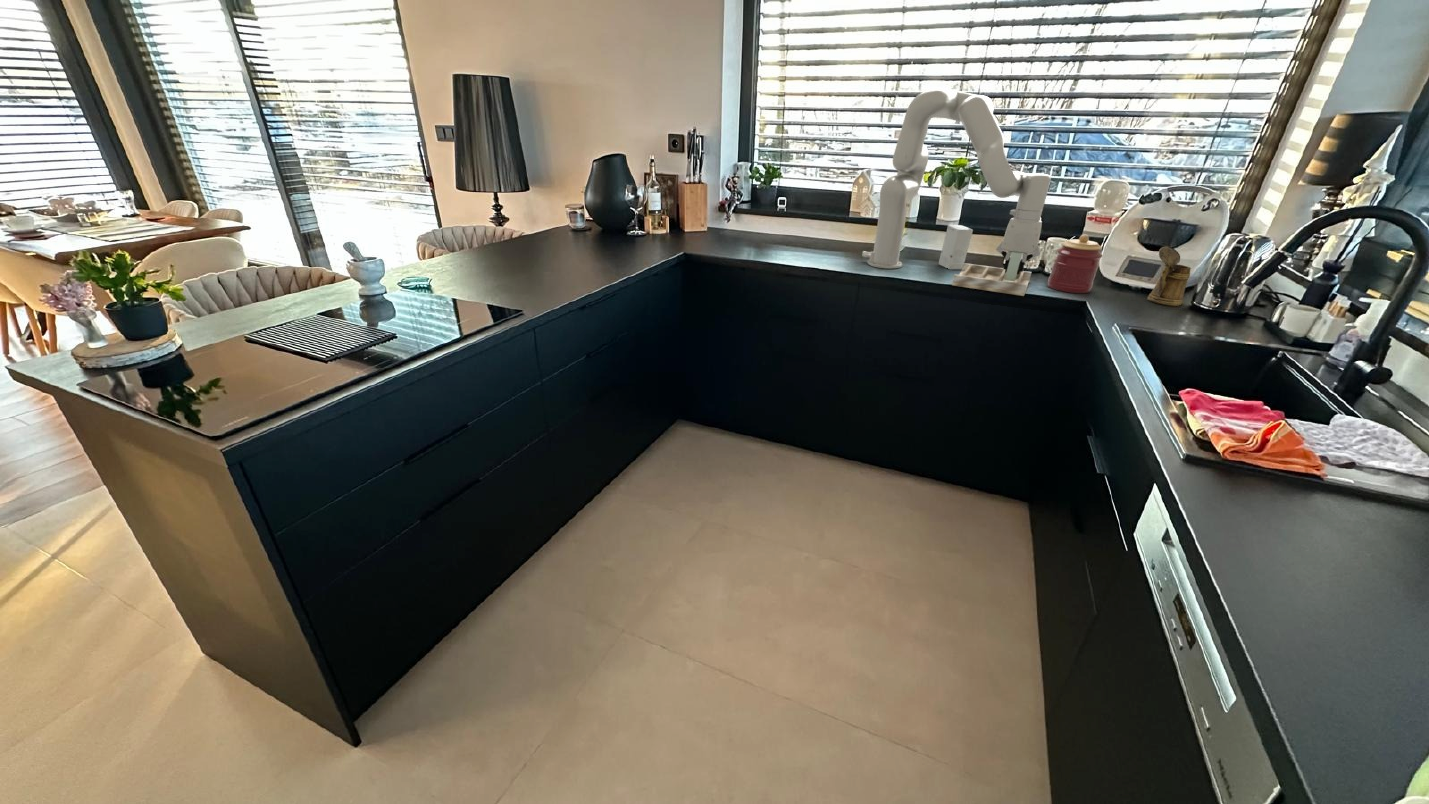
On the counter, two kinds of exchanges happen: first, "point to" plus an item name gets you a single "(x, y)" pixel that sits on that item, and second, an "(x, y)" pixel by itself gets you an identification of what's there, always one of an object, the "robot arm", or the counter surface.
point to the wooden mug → (1170, 279)
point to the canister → (1075, 265)
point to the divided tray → (991, 279)
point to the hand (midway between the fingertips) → (1012, 272)
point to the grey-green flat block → (1013, 266)
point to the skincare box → (955, 246)
